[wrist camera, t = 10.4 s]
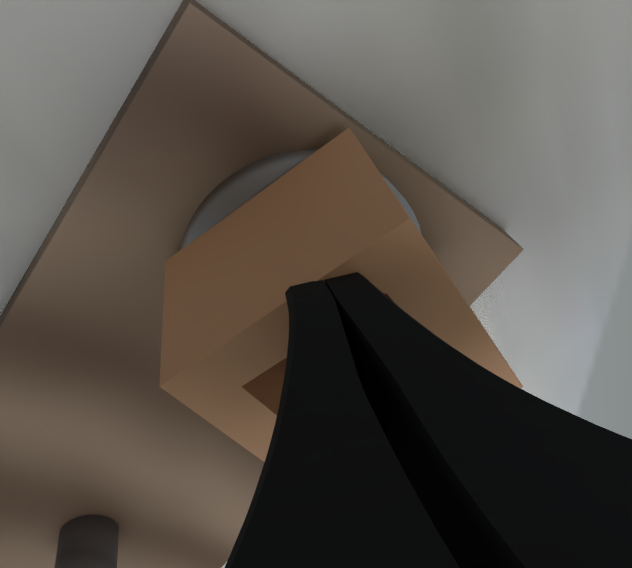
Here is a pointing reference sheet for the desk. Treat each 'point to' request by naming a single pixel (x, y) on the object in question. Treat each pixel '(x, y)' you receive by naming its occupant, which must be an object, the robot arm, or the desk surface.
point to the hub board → (147, 307)
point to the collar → (292, 269)
